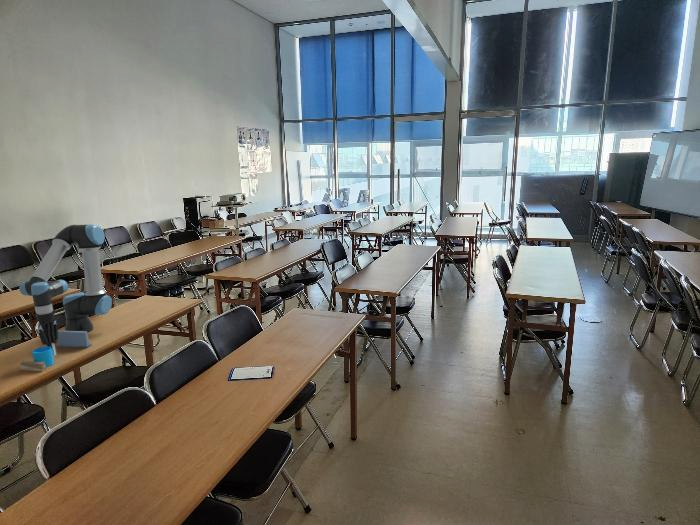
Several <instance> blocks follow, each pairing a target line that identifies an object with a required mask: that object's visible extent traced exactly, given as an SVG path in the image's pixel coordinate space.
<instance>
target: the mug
mask: <svg viewBox="0 0 700 525" xmlns="http://www.w3.org/2000/svg"><path fill="white" fill-rule="evenodd" d="M31 354H32V358H33V362H45V366H46V368H48V367H51V366H52V365H54V363H55V360H54V359H55V358H54V356H53V353H52V348H51V347H49V346H47V345H46V346H41V347H38V348H37V347H36V348H35V349H33V350H32V351H31Z"/></svg>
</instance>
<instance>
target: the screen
mask: <svg viewBox="0 0 700 525" xmlns="http://www.w3.org/2000/svg"><path fill="white" fill-rule="evenodd" d="M88 336H89V335H88V332H87V331H65V330H58V340H56V341H57V346H58V348H59V347H60V348H81V349H83V348H85V349H87V348H89V347H91V346H93V343H90V340H89V337H88Z"/></svg>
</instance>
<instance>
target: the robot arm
mask: <svg viewBox="0 0 700 525" xmlns="http://www.w3.org/2000/svg"><path fill="white" fill-rule="evenodd" d="M105 238H106V236H105V232H104V230H103V228H102V227H100V226H99V225H97V224H90V223H89V224H69V225H68V226H66V227H64V228H62V229H61V230H60V231H59V232H58V233H57V234H56V235H55V237H53V239H52V241H51V243H52V245H51V246H50V248H49V249H48V251H47V253H46V254H45V255H44V256H43V259H42V260H41V262H40V263H39V264H38V266H37V268H36V269H35V271H34V272H33V274H32V275H31V277H30V278H29V280H28V281H27V280H26V281H23V282H21V283H20V284H19V289H18V290H19V293H20V294H21V295H22V296H29V297H32V301H33V305H34V310H35V314H36V321H37V322H38V326H39V327H38V328H37V329H35V332H36V333H37V334H38V336H39V338H40V340H41V343H42V345H43V346H45V345H46V346H49V347H51V348H52V353H53V357H54V356H56V355H57V349H56V348H57V346H56V343H58V341H57V340H58V331H59V323H60V321H59V320H56V319H55V312H54V306H53V300H52V299H53V298H56V297H57V296H61V295H63V294H64V293H66V292H68V290H69V284H68V282H67V281H66V280H64V279H56V280H54V281H48V280H49V279H50V278H51V276H52V275H53V273H54V271H55V270H56V268H57V266H58V265H59V263H60V261H62V258H63V257H64V255H65V254H66V253H67V251H69V250H70V249H71V248H72V247H73V246H77V247H78V249H79V251H81V254H82V255H81V256H82V263H83V273H84V280H85V281H84V282H85V287H86V288H85V289H86V290H85V292H82V291H81V292H79V291H78V292H75V293H71V294H68V295H66V296H64V297H63V298H62V305H63V310H64V315H65V327H64V331H87V333H89V332H91V331H93V330H94V328H95V327H94V324H93V322H92V321H91V319H90V317H89V316H103V315H106V314H108V313H109V311H110V310H111V308H112V304H113V299H112V298H111V296H110V295H108V294H107V290H105V289H104V286H103V278H102V269H101V260H100V251H99V250H100V249H101V248H102V244H103V243H104V242H105Z"/></svg>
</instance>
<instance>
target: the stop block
mask: <svg viewBox="0 0 700 525" xmlns="http://www.w3.org/2000/svg"><path fill="white" fill-rule="evenodd" d="M19 365H20V370H21V371H30V372H44V371H45V370H47V367H46V366H45V362H34V360H33V361H30V360H29V361H27V360H25V361H21V362H19Z"/></svg>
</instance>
